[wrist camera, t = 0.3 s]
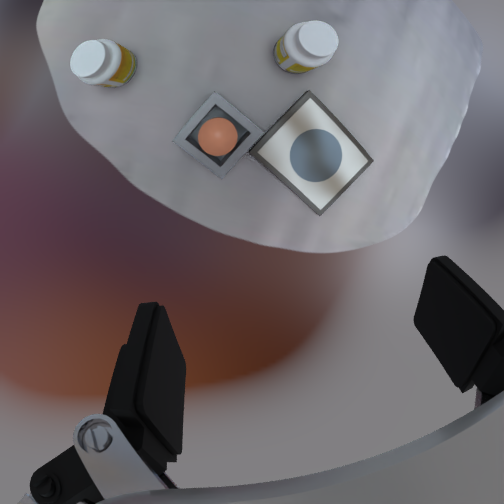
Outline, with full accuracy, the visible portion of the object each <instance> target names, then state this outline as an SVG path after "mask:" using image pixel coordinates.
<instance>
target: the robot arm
mask: <svg viewBox="0 0 504 504" xmlns="http://www.w3.org/2000/svg"><path fill="white" fill-rule="evenodd" d="M414 324H415V326H416V328H417V329H418V331H419V332H420V334H421V335H422V336H423V338H424V339H425V341H426V342H427V344H428V345H429V347H430V348H431V349H432V351H433V352H434V354H435V355H436V357H437V358H438V360H439V361H440V363H441V364H442V366H443V367H444V369H445V371H446V372H447V374H448V375H449V377H450V378H451V380H452V382H453V383H454V385H455V386H456V387H459V389H460V390H461V392H462V393H464V392H466V391H467V390H469V389H471V388H472V387H473V386H474V384H475V385H476V386H477V390H476V400H475V408H474V410H473V411H471V412H469V413H468V414H466V415H464V416H463V417H461V418H459V419H457V420H455V421H453V422H452V423H450V424H448V425H446V426H444V427H442V428H440V429H438V430H436V431H434V432H432V433H430V434H428V435H426V436H424V437H422V438H419V439H417V440H415V441H412V442H410V443H408V444H405V445H403V446H400V447H398V448H395V449H393V450H390V451H388V452H385V453H382V454H380V455H377V456H374V457H371V458H368V459H365V460H362V461H358V462H355V463H352V464H349V465H345V466H342V467H338V468H334V469H331V470H327V471H323V472H318V473H314V474H310V475H305V476H300V477H295V478H289V479H284V480H278V481H270V482H263V483H256V484H248V485H238V486H226V487H209V488H186V489H180V488H179V487H178V486H177V485H176V484H175V483H174V482H173V481H172V480H171V479H170V477H169V476H168V475H167V474H166V473H165V470H167V462H177V461H176V460H177V454H181V453H182V436H183V411H184V394H185V377H186V363H185V359H184V357H183V354H182V352H181V349H180V347H179V344H178V342H177V339H176V337H175V334H174V331H173V329H172V326H171V323H170V321H169V318H168V315H167V312H166V309H165V307H164V306H159V304H158V303H157V302H149V303H141V304H139V306H138V310H137V312H136V316H135V319H134V322H133V325H132V328H131V331H130V335H129V338H128V342H127V344H124V345H123V346H122V347H121V349H120V352H119V355H118V358H117V362H116V366H115V369H114V372H113V376H112V380H111V383H110V387H109V391H108V395H107V399H106V403H105V407H104V411H103V415H102V414H93V415H90V416H87V417H85V418H84V419H83V420H81V421H80V422H79V424H78V425H77V426H76V428H75V431H74V434H73V442H74V445H73V446H72V447H70V448H69V449H67V450H66V451H64V452H63V453H61V454H60V455H58V456H57V457H55V458H54V459H52V460H51V461H49V462H48V463H46V464H45V465H43V466H42V467H40V468H39V469H37V470H36V471H35V472H34V474H33V475H32V477H31V481H30V491H31V494H30V495H28V494H27V493H26V494H25V495H24V496H23V498H22V499H21V500H20V501H19V503H18V504H504V310H503V309H502V308H501V307H500V306H499V305H498V304H497V303H496V302H495V301H494V300H493V299H492V298H491V297H490V296H489V295H488V294H487V293H486V292H485V291H484V290H483V289H482V288H481V287H480V286H479V285H478V284H477V283H476V282H475V281H474V280H473V279H472V278H471V277H470V276H469V275H467V274H466V273H465V272H464V271H463V270H462V269H461V268H459V266H457V265H456V264H455V263H454V262H453V261H452V260H451V259H449V258H448V257H447V256H439V257H435V258H433V259H431V261H430V263H429V264H428V266H427V270H426V275H425V279H424V283H423V287H422V290H421V294H420V298H419V301H418V305H417V308H416V312H415V315H414Z"/></svg>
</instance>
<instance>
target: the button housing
mask: <svg viewBox="0 0 504 504" xmlns="http://www.w3.org/2000/svg"><path fill="white" fill-rule="evenodd" d="M215 117H222V118H225V119H227V120H229V121H230V122H231V123H232V124H233V125H234V127H235V128H236V130H237V135H238V138H237V143H236V145H235V147H234V148H233V149H232V150H231V151H230V152H229V153H227V154H225V155H221V156H213V155H210V154H208V153H206V152H205V151H204V150H203V149H202V148H201V146H200V144H199V141H198V134H199V130H200V128H201V127H202V125H203V124H204V123H205V122H207V121H208V120H210V119H212V118H215ZM263 133H264V132H263V131H262V130H261V129H260V128H259V127H258V126H256V125H255V124H254V123H253V122H252V121H251V120H249V119H248V118H247V117H246V116H245V115H243V114H242V113H241V112H240V111H239V110H237V109H236V108H235V107H234V106H233V105H231V104H230V103H229V102H228V101H226V100H225V99H224V98H223V97H221V96H220V95H219V94H218V93H216V92H215V91H214V93H213V94H212V95H211V96H210V97H209V98H208V99H207V100H206V101H205V102H204V104H203V105H202V106H201V107H200V108H199V109H198V110H197V112H196V113H195V114H194V115H193V116H192V117H191V119H190V120H189V121H188V122H187V123H186V125H185V126H184V127H183V128H182V129H181V131H180V132H179V133H178V134H177V136H176V137H175V138H174V139H173V142H174V143H175V144H177V145H178V146H179V147H181V148H182V149H183V150H184V151H186V152H187V153H188V154H190V155H191V156H192V157H194V158H195V159H196V160H197V161H199V162H200V163H201V164H203V165H204V166H205V167H206V168H208V169H209V170H210V171H211V172H213V173H214V174H215V175H217V176H218V177H219V178H220V179H223V177H224V176H225V175H226V174H227V173H228V172H229V171H230V169H231V168H232V167H233V166H234V165H235V164H236V163H237V162H238V160H239V159H240V158H241V157H242V156H243V155H244V154H245V153H246V152H247V151H248V149H249V148H250V147H251V146H252V145H253V144H254V143H255V142H256V141H257V140H258V139H259V138H260V137H261V135H262V134H263Z"/></svg>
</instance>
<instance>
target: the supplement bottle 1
mask: <svg viewBox="0 0 504 504" xmlns="http://www.w3.org/2000/svg"><path fill="white" fill-rule="evenodd" d="M136 65H137V62H136V58H135V56H134V54H133V53H132V52H131V51H129V50H128V49H126V48H124V47H122V46H121V45H119V44H117V43H116V42H114V41H112V40H109V39H99V40H88V41H85V42H83V43H82V44H80V45H79V46H78V47H77V48H76V49H75V51H74V52H73V54H72V56H71V61H70V66H71V70H72V72H73V73H74V74H75V75H77V76H78V77H79V78H80V80H81V81H83V82H84V83H86V84H89V85H96V86H104V87H119V86H122V85H124V84H125V83H127V82H128V81H129V80H130V79H131V77H132V76H133V74H134V72H135V70H136Z"/></svg>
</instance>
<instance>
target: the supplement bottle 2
mask: <svg viewBox="0 0 504 504" xmlns="http://www.w3.org/2000/svg"><path fill="white" fill-rule="evenodd" d="M338 43H339V40H338V36H337V33H336V32H335V30H334V29H333V28H332V27H331V26H330V25H328V24H327V23H325V22H322V21H316V20H314V21H309V22H300V23H297V24H295V25H293V26H292V27H291V28H289V29H288V31H287V32H286V33H285V34H284V35H283V36H282V37H281V38H280V40H279V41H278V42H277V43H276V45H275V47H274V58H275V61H276V63H277V64H278V65H279V66H280V67H281V68H282V69H283V70H285V71H287V72H290V73H294V74H299V73H304V72H307V71H309V70H311V69H314V68H317V67H319V66H322V65H324V64H326V63H327V62H328V61H329V60H330V59H331V58H332V56H333V54H334V52H335V51H336V49H337V47H338Z"/></svg>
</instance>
